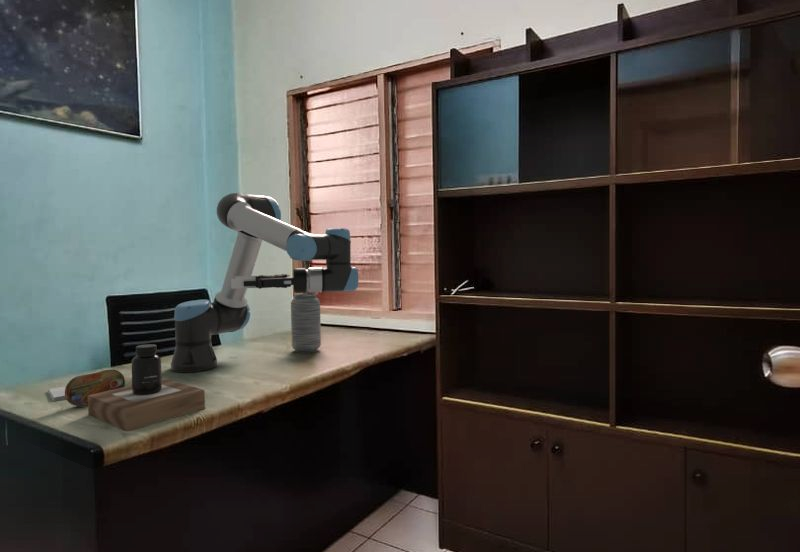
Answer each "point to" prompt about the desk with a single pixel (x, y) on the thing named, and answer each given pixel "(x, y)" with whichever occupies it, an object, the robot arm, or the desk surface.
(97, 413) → the plinth
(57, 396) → the hard drive
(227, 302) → the robot arm
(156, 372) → the supplement bottle
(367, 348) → the desk surface
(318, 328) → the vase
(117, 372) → the tin
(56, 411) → the desk surface
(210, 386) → the desk surface
